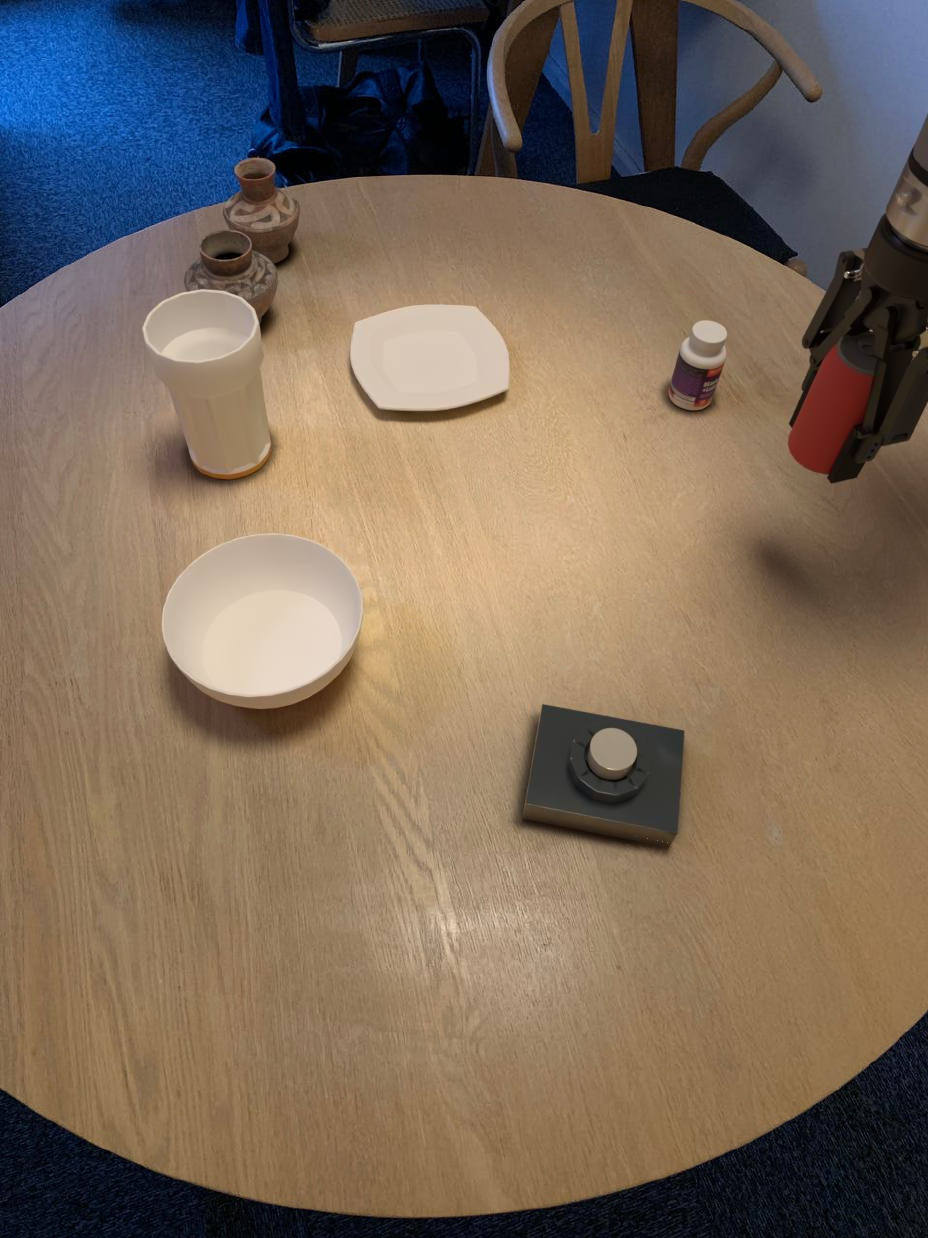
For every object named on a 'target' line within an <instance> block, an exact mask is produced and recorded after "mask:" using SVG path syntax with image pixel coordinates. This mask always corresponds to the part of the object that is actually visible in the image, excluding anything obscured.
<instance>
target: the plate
mask: <svg viewBox="0 0 928 1238" xmlns="http://www.w3.org/2000/svg"><path fill="white" fill-rule="evenodd" d="M349 359H350V366H351V368H352V371H353V373H354V376H355V378H356V379H357V380H358V383H359V385H360V386H361V388H362V389H363V390H364V392H365V393H366V394H367V395H368V398H369V399H371V401H372V402H373V403H374V404H375V406H376V407H377V408H378V409H379V410H384V411H385V410H387V411H400V412H435V411H446V410H447V411H448V410H453V409H457V408H462V407H465V406H469V405H471V404H475V403H478V402H482V401H484V400H487V399H490V398H493V397H495V396H498V395H500V394H502V393H504V392H507V391H509V390H510V378H511V361H510V354H509V350H508V347H507V343H506V341H505V340H504V338H503V336H502V334H501V333H500V332H499V330H498V329H497V328H496V326H495V325H494V323H492V322H491V321H490V320H489V318H487V316H486V315H485V314H484V313H483V312H481V310H480V309H479V308H478V307H477V306H475V305H461V304H417V305H416V304H415V305H409V306H404V307H399V308H396V309H395V308H394V309H392V310H388V311H384V312H381V313H377V314H375V315H371V316H369V317H366V318H363V319H361V320H358V321H355V322H354V325H353V329H352V333H351V339H350V345H349Z"/></svg>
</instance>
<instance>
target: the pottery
mask: <svg viewBox="0 0 928 1238" xmlns="http://www.w3.org/2000/svg"><path fill="white" fill-rule="evenodd" d="M233 171H234V175H235V177H236V178H237V181H238V183H239V186H240V189H241V190H239V191H238V192H236V193H235V194H233V195H232V196H231V197H229V198H228V200H227V201H226V203H225V204H224V206H223V208H222V216H223V219H224V221H225V224H226V226H227V227H228V229H220V230H216V231H212V232H210V233H208V234H207V235H205V236H204V237H203V238H201V240H200V241H199V245H198V250H199V255H200V257H199V258H198V259H196V260H195V261H194V262H193V263H192V264H191V265H190V266H189V268H188V269H187V270H186V272H185V274H184V277H183V284H184V288H185V292H189V291H195V290H201V289H206V290H218V291H225V292H228V293H231V294H234V295H236V296H239V297H242V298H243V299H244V300H245V301H246V302H247V303H249V304H250V305H251V306H252V307H253V308H254V309H255V312H256V315H257V318H258V321H259V325H260V324H261V322H262V317H263V316H264V314H266V312H268V310H269V309H270V307H271V305H272V303H273V301H274V299H275V297H276V293H277V291H278V284H279V272H278V269H277V266H276V265H275V264H276V263H279V262H281V261H283V260H284V259H286V258H287V257H288V255H289V253H290V252H289V246H288V245H289V244H290V243H291V241H292V239H293V238H294V236H295V235H296V232H297V229H298V225H299V222H300V221H299V220H300V215H301V205H300V203H299V201H298V199H296V198H295V196H293V195H292V194H291V193H290V192H288V191H286V190H283V189H282V188H279V187H276V186H275V179H276V165H275V163H274V162H273V161H272V160H269V159H267V158H262V157H249V158H246V159H243V160H241V161H239V162H238V163H237V164H236V165H235V166H234V170H233Z"/></svg>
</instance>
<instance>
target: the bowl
mask: <svg viewBox="0 0 928 1238" xmlns="http://www.w3.org/2000/svg"><path fill="white" fill-rule="evenodd" d="M364 604H365V603H364V596H363V593H362V588H361V585H360V582H359V580H358V578H357V577H356V575H355V573H354V572H353V570H352V569H351V567H350V566H349V564H347V562H346V561H345V560H344V558H342V557H341V556H340V555H338V554H337V553H335V551H333V550H331V549H330V548H329V547H327V546H325V545H324V544H321V543H319V542H317V541H316V540H313V539H310V538H306V537H304V536H303V537H302V536H299V535H295V534H287V533H279V532H273V533H272V532H271V533H256V534H250V535H245V536H240V537H236V538H234V539H231V540H228V541H226V542H223V543H220V544H218V545H216V546H214V547H213V548H211V549H208V550H207V551H205V552H204V553H202V554H201V555H199V556H198V557H197V558H196V559H194V560H193V561H192V562H190V563H189V564H188V565H187V566H186V568H184V570H183V571H182V572H181V573H180V574H179V575H178V576H177V578H176V579H175V581H174V583H172V586H171V587H170V589H169V590H168V593H167V596H166V598H165V601H164V604H163V606H162V614H161V615H162V616H161V631H162V639H163V640H162V641H163V643H164V646H165V648H166V650H167V653H168V655H169V658H170V659H171V660H172V662H173V663H174V664H175V665H176V667H177V669H178V670H179V671H180V672H181V673H182V674H183V675H184V676H185V677H186V678H187V680H188V681H189V682H190V683H192V685H194V687H196V688H197V689H199V691H201V692H202V693H203V694H205V695H207V696H209V697H211V698H213V699H214V700H216V701H219V702H221V703H225V704H227V705H232V706H234V707H240V708H241V707H242V708H246V709H247V708H248V709H257V710H264V709H265V710H266V709H277V708H282V707H286V706H291V705H295V704H298V703H299V702H302V701H304V700H306V699H309V698H310V697H312V696H313V695H315V694H317V693H319V692H320V691H322V690H323V689H324V688H325V687H327V686H328V685H330V683H331V682H333V681H334V679H336V678H337V677H338V676H339V675H340V674H341V673H342V671H343V670H344V669H345V667H347V664H348V663H350V660H351V659H352V656H353V654H354V653H355V650H356V649H357V645H358V642H359V637H360V633H361V629H362V625H363V620H364V615H365V609H364Z"/></svg>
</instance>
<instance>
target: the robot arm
mask: <svg viewBox="0 0 928 1238" xmlns="http://www.w3.org/2000/svg"><path fill="white" fill-rule="evenodd" d="M867 331H872V332H873V333H874V335H875V337H876V342H875V347H874V352H873V355H874V356H875V357H876V358H877V362H876V366H875V371H874V376H873V380H872V385H871V389H870V394H869V399H868V403H867V408H866V413H865V417H864V422H863V424H861V425H856V426H854V427H853V429H852V431H851V433H850V435H849V437H848V439H847V441H846V442H845V444H844V446H843V448H842V450H841V452H840V454H839V456H838V458H837V460H836V462H835V463H834V465H833V467H832V469H831V471H830V473H829V474H827V476H826V479H827V481H829V483H830V484H837V483H840V482H845V481H849V480H853V479H854V480H855V479H857V478H858V477H859V475H860V473H861V471H862V469H863V467H864V466H865V464H866V463H869V462H872V461H873V460H875V458H876V456H877V455H878V453H879V451H880V450H881V448H882V447H886V446H892V445H896V444H900V443H904V442H908V441H910V440H911V438H912V436H913V434H914V431H915V429H916V428H917V425H918V423H919V421H920V419H921V418H922V415H923V413H924V411H925V409H926V407H927V405H928V113H927V114H926V116H925V119H924V121H923V124H922V126H921V129H920V131H919V133H918V135H917V138H916V140H915V143H914V144H913V146H912V148H911V150H910V153H909V155H908V157H907V159H906V161H905V164H904V166H903V168H902V170H901V172H900V175H899V177H898V180H897V181H896V184H895V185H894V189H893V191H892V193H891V195H890V197H889V200H888V201H887V204H886V206H885V213H883V214H882V216H881V217H880V218H879V221H878V223H877V225H876V227H875V230H874V232H873V235H872V237H871V239H870V241H869V243H868V245H867V247H863V248H857V249H852V250H851V249H850V250H845V251H844V250H843V251H841V252H840V253H839V255H838V257H837V262H836V267H835V271H834V275H833V278H832V280H831V282H830V283H829V286H828V288H827V289H826V292H825V293H824V294H823V298H822V299H821V301H820V303H819V305H818V307H817V309H816V311H815V313H814V314H813V317H812V318H811V321H810V322H809V324H808V326H807V328H806V330H805V332H804V333H803V336H802V339H801V345H802V348H803V349H805V350H808V351H809V352H810V355H809V359H808V363H809V367H808V369H807V372H806V374H805V376H804V379H803V381H802V383H801V391H802V392H801V395H800V397H799V399H798V402H797V404H796V406H795V409H794V410H793V412H792V415H791V418H790V420H789V423H788V426H789V427H790V428H791V429H792V428H793V425H794V423H795V421H796V419H797V416H798V414H799V412H800V410H801V408H802V405H803V403H804V401H805V399H806V396H807V394H808V392H809V390H810V388H811V385H812V383H813V381H814V379H815V376H816V374H817V372H818V370H819V368H820V365H821V363H822V361H823V359H824V358H825V356H826V355H827V354H828V352H829V351H830V350H831V348H832V347H834V346H835V345H836V344H837V343H838V341H839V339H840V338H841V337H842V336H843V335H844V336H845V335H849V336H854V335H859V334H861V333H863V332H867ZM891 345H892V346H891Z"/></svg>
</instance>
